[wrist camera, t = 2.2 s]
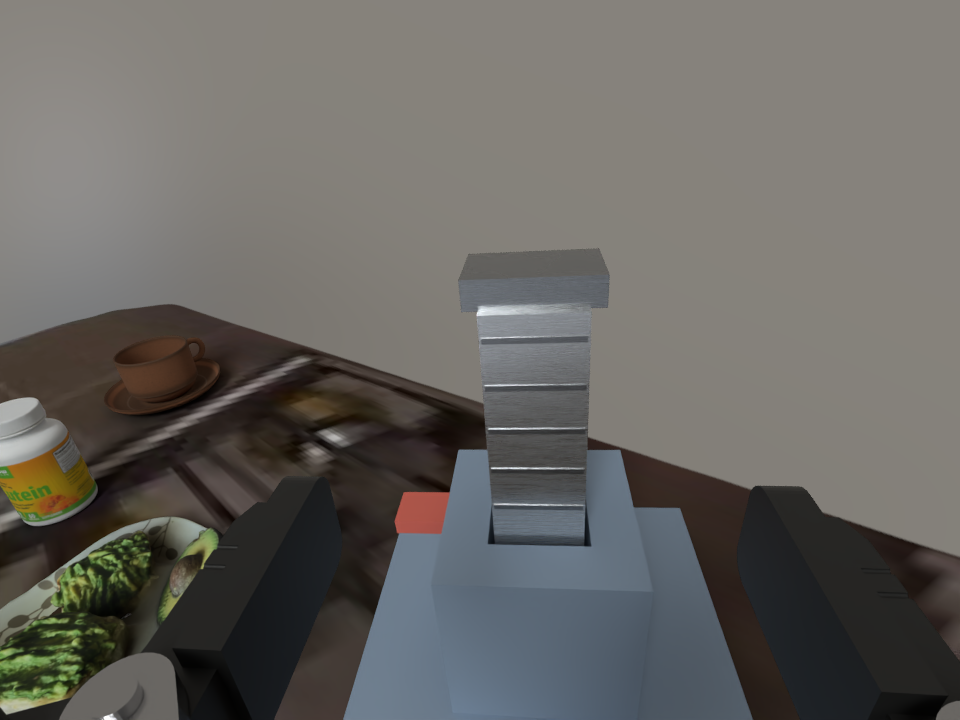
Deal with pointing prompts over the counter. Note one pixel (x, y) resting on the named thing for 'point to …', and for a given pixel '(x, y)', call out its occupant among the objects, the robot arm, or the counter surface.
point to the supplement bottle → (41, 465)
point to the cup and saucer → (160, 375)
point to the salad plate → (97, 609)
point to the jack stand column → (536, 385)
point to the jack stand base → (544, 615)
